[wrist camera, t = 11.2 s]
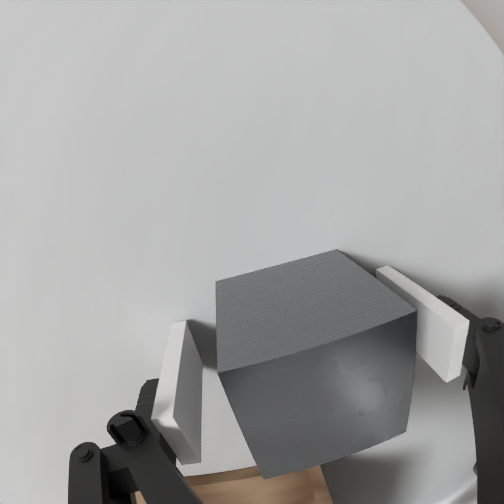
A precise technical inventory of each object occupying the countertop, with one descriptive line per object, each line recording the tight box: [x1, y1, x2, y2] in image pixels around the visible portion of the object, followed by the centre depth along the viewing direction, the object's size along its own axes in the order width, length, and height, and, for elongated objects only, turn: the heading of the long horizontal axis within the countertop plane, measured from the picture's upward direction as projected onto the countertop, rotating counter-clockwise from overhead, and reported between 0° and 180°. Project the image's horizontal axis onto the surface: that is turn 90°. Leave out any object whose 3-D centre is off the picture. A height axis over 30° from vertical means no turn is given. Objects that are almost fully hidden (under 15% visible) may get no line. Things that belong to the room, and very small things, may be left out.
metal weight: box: [216, 249, 417, 479], centre depth 12 cm, size 6×6×7 cm
